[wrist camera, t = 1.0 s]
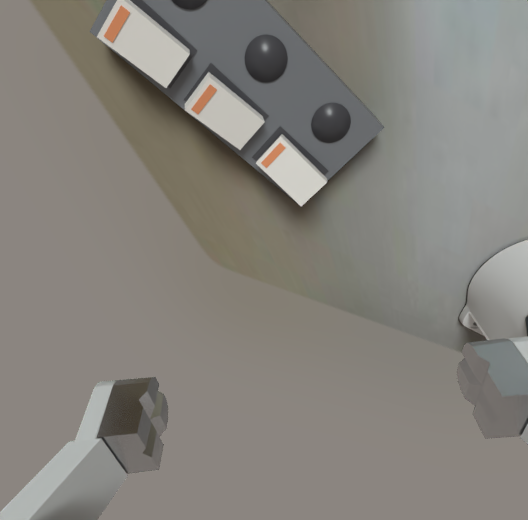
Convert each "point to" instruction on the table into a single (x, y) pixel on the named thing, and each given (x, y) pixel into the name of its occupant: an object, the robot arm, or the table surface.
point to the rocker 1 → (143, 42)
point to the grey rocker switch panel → (262, 77)
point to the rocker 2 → (291, 170)
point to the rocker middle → (223, 111)
